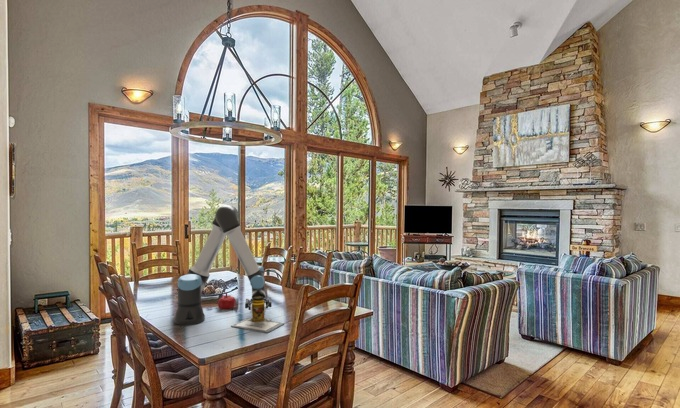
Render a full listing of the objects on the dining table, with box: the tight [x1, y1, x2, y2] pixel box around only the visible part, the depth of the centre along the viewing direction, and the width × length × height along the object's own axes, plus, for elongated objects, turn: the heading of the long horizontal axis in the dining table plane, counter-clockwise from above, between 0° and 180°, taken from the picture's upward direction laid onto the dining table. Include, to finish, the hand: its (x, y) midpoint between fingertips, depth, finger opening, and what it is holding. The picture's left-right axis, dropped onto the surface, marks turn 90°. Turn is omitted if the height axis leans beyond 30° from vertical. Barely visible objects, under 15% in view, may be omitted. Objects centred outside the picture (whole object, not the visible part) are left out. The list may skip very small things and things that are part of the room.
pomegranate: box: [217, 292, 237, 310], centre depth 228 cm, size 10×10×9 cm
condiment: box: [247, 296, 269, 323], centre depth 198 cm, size 7×8×12 cm
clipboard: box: [230, 317, 285, 334], centre depth 198 cm, size 22×15×2 cm
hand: (258, 309), depth 193 cm, fingers closed on condiment, 6 cm apart
